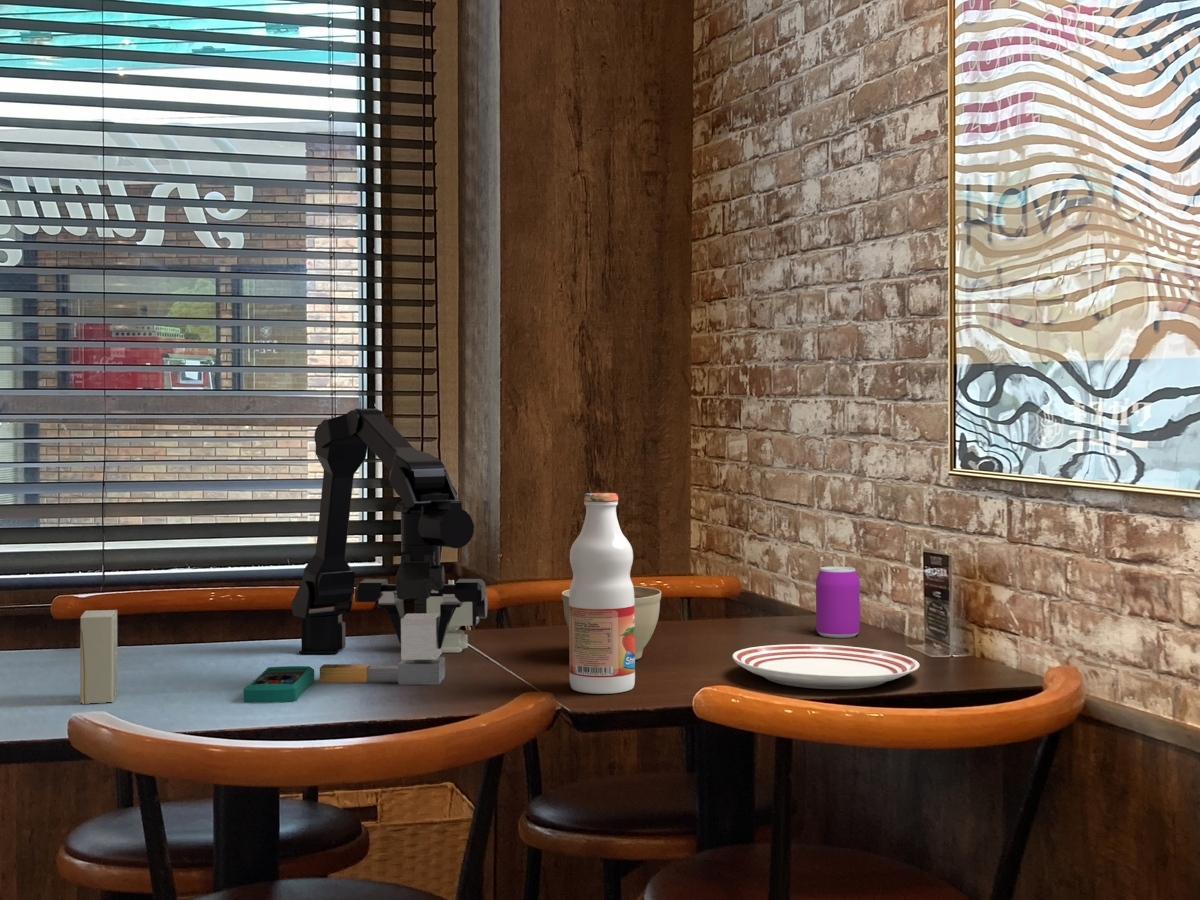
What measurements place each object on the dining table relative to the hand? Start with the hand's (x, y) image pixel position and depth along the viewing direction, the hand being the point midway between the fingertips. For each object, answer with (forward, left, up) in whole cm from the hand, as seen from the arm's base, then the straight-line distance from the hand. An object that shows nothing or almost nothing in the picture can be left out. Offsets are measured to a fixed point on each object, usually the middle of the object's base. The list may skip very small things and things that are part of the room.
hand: (421, 648), depth 192 cm
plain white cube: (0, 0, -1) cm, 1 cm away
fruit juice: (+27, -6, -5) cm, 28 cm away
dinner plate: (+60, +2, -5) cm, 60 cm away
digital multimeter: (-19, -8, -5) cm, 21 cm away
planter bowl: (+28, +18, -5) cm, 34 cm away
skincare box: (-43, -13, -5) cm, 45 cm away
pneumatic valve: (+1, +25, -5) cm, 25 cm away
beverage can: (+68, +40, -5) cm, 79 cm away
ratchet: (-6, 0, -5) cm, 8 cm away
